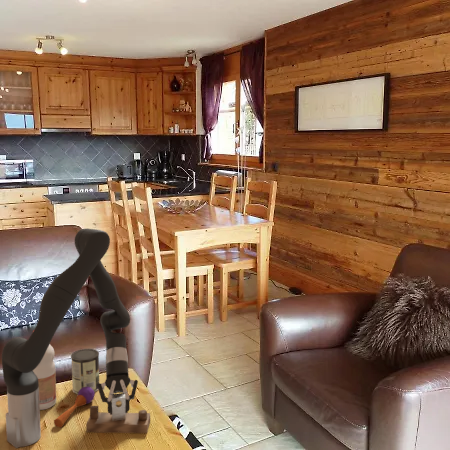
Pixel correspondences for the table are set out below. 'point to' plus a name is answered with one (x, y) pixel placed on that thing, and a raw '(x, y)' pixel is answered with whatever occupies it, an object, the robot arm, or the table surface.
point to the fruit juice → (46, 379)
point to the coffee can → (85, 369)
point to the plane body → (117, 422)
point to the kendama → (76, 404)
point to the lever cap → (118, 407)
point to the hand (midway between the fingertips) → (118, 413)
